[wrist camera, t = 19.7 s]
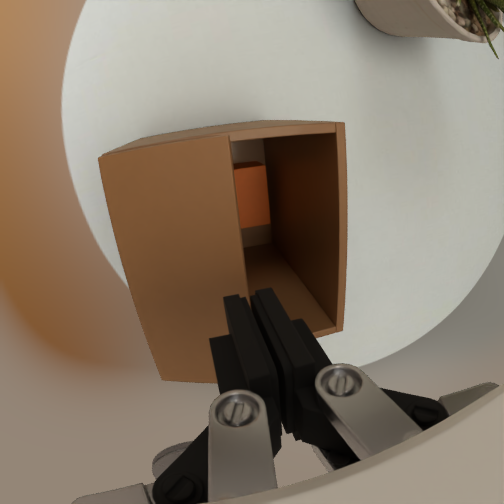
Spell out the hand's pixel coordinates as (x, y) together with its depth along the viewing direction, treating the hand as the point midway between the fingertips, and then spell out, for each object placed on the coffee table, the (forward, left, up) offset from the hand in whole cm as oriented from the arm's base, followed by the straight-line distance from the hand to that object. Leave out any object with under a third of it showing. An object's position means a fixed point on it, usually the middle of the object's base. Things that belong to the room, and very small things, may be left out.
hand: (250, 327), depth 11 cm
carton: (0, -1, -19) cm, 19 cm away
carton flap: (0, +2, -4) cm, 4 cm away
